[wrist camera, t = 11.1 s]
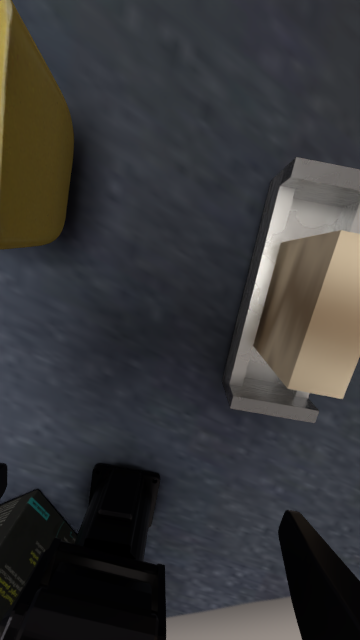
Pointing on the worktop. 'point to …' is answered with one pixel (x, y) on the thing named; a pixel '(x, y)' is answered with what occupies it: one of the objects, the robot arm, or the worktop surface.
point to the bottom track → (276, 226)
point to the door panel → (313, 314)
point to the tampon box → (26, 541)
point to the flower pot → (30, 140)
